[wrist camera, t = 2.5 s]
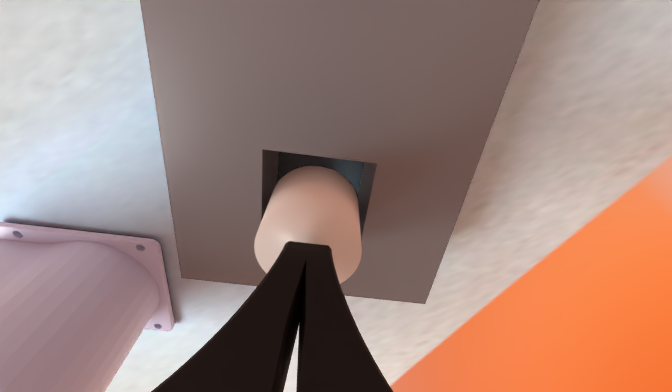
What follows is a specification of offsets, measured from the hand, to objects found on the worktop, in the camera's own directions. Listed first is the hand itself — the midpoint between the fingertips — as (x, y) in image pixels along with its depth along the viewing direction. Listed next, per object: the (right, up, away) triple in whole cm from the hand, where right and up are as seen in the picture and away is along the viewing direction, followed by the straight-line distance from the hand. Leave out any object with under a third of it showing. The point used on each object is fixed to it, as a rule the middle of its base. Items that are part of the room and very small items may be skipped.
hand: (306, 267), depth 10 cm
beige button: (0, +2, +3) cm, 4 cm away
